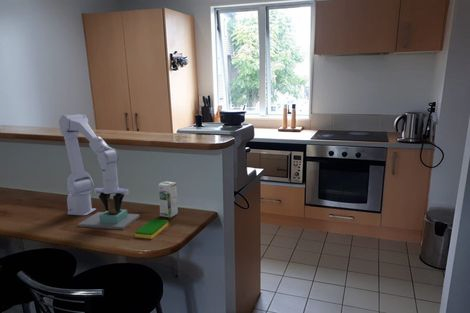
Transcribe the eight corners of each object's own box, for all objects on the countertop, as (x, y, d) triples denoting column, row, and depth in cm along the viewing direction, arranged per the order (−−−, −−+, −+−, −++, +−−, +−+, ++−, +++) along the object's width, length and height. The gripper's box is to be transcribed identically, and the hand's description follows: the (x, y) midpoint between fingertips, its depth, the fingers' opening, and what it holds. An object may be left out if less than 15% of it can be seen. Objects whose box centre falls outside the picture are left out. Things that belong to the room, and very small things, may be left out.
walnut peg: (107, 218, 142) (105, 200, 141) (111, 215, 146) (110, 197, 145) (116, 219, 142) (114, 200, 140) (120, 215, 146) (119, 197, 144)
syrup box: (159, 216, 150) (157, 183, 147) (168, 211, 155) (166, 180, 152) (170, 218, 147) (168, 185, 144) (178, 213, 152) (176, 181, 149)
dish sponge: (135, 238, 129) (134, 231, 129) (153, 224, 142) (152, 218, 142) (152, 239, 127) (151, 233, 127) (168, 225, 140) (168, 219, 140)
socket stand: (78, 226, 140) (77, 217, 139) (98, 214, 153) (97, 205, 153) (123, 229, 136) (122, 219, 135) (139, 216, 149) (138, 207, 149)
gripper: (88, 180, 138) (91, 212, 141) (121, 182, 135) (124, 214, 138) (98, 176, 145) (101, 207, 148) (130, 177, 142) (132, 208, 145)
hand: (113, 210), depth 143 cm, fingers closed on walnut peg, 4 cm apart
